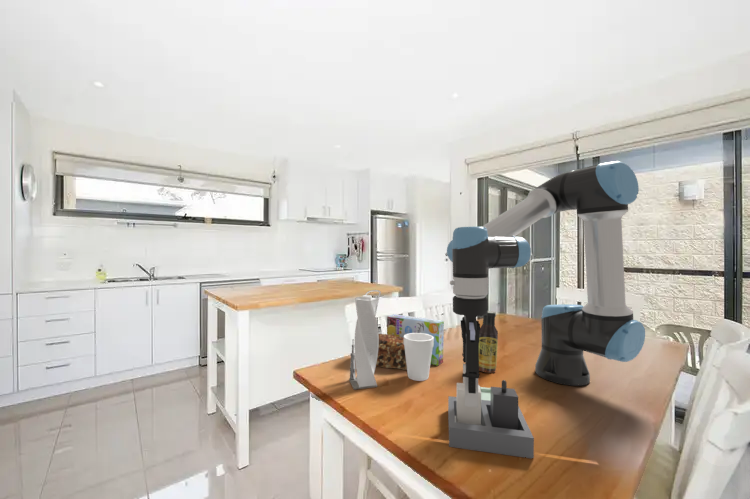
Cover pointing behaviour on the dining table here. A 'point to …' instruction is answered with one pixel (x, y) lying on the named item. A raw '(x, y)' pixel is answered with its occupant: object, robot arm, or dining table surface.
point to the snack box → (419, 331)
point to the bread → (391, 352)
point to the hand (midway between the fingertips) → (470, 398)
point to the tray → (485, 393)
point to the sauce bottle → (488, 344)
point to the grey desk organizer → (494, 426)
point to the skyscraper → (365, 343)
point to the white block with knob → (467, 413)
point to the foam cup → (418, 355)
